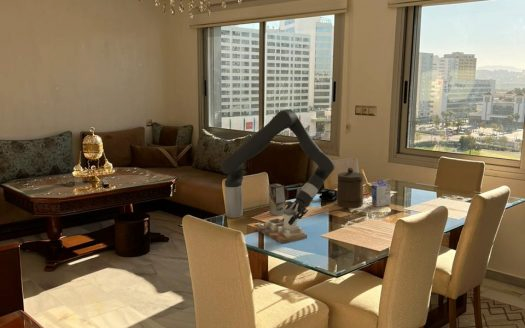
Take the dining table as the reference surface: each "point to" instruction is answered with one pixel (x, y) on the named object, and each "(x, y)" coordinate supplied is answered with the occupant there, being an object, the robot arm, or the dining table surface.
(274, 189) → the coffee box
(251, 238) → the dining table surface
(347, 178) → the wooden container
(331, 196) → the end cap
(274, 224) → the socket board
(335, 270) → the dining table surface
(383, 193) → the ink cartridge box
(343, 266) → the dining table surface
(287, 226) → the plug
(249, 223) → the dining table surface
